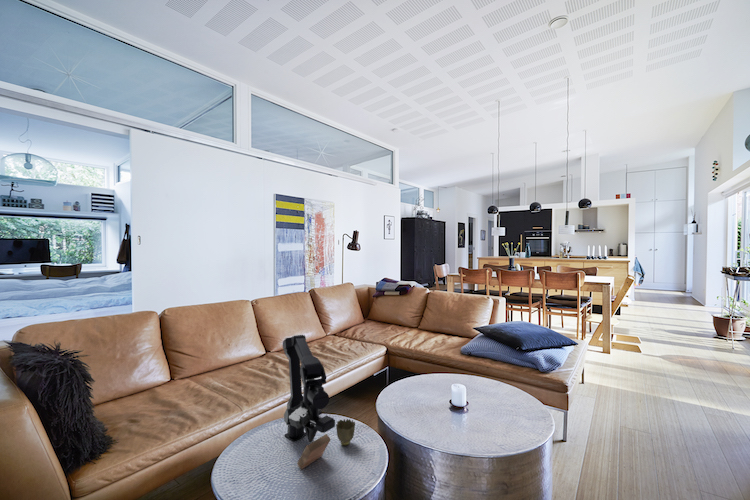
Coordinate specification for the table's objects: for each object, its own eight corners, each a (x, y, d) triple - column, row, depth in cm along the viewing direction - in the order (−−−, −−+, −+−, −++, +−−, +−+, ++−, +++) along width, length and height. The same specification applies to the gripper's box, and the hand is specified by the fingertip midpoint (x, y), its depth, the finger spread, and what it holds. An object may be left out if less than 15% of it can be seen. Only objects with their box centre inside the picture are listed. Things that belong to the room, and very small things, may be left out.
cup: (351, 450, 124) (352, 429, 124) (333, 448, 125) (333, 427, 126) (356, 440, 131) (357, 419, 131) (339, 437, 133) (339, 417, 133)
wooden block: (297, 463, 114) (306, 445, 112) (317, 450, 122) (326, 433, 119) (301, 469, 113) (310, 452, 110) (321, 456, 120) (330, 439, 118)
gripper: (276, 398, 116) (275, 443, 116) (312, 413, 105) (311, 463, 105) (300, 388, 125) (300, 429, 125) (336, 401, 114) (335, 447, 114)
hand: (310, 441), depth 117 cm, fingers closed
